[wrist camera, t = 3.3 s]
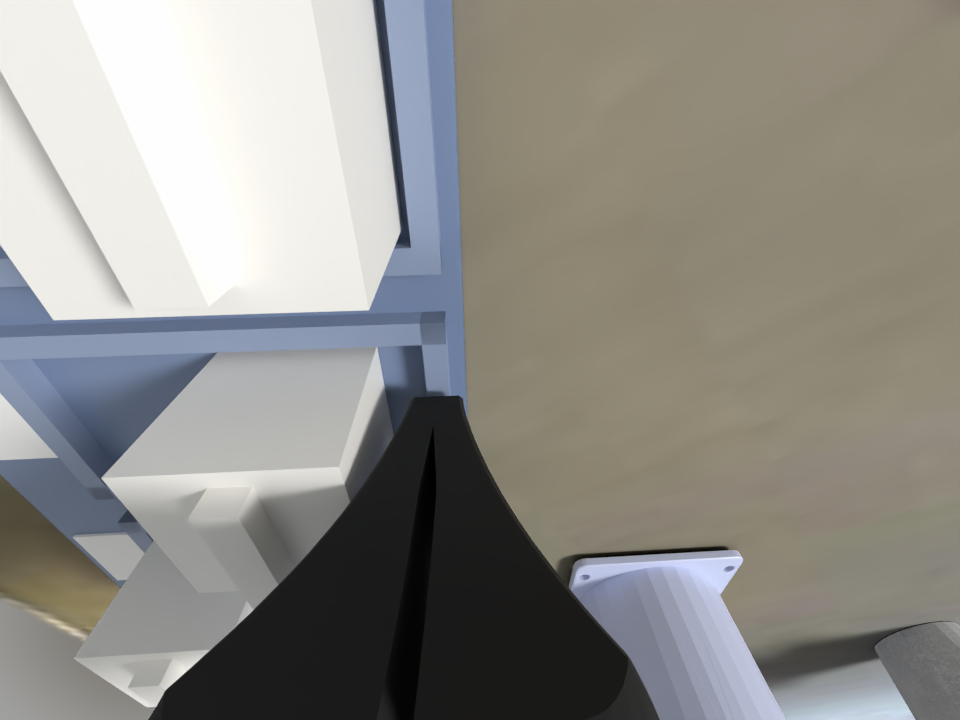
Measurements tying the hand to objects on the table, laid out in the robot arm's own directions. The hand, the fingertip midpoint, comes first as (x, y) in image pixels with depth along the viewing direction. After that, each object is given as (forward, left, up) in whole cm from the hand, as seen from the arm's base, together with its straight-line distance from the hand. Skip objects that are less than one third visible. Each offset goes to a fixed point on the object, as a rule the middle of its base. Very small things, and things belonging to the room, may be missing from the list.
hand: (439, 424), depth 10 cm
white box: (+7, +2, -1) cm, 8 cm away
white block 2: (-7, +8, -1) cm, 11 cm away
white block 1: (0, +3, -1) cm, 4 cm away
